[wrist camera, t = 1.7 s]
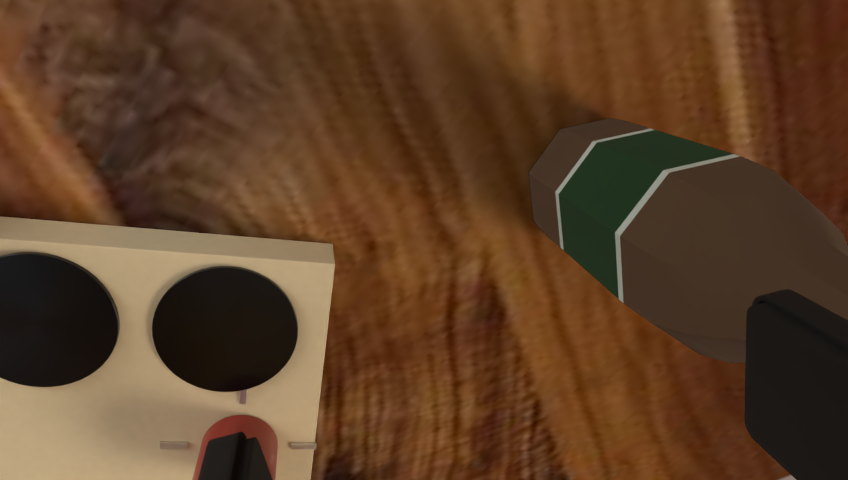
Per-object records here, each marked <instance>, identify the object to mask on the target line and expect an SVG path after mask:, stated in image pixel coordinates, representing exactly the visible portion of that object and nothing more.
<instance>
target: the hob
mask: <svg viewBox="0 0 848 480" xmlns="http://www.w3.org/2000/svg"><path fill="white" fill-rule="evenodd" d="M18 252H39V253H47V254H51V255H56V256H59V257H62V258H65V259H68V260H70V261H72V262H74V263H76V264H79V265H80V266H82V267H83V268H85V269H87V270H88V271H89V272H91V273H92V274H93V275H94V276H96V277H97V278H98V279H99V280H100V281H101V282H102V283H103V284H104V286H105V287H106V288H107V290H108V291H109V292H110V294H111V296H112V298H113V299H114V302H115V304H116V306H117V310H118V314H119V320H120V331H119V337H118V341H117V343H116V346H115V348H114V350H113V352H112V353H111V355H110V357H109V358H108V359H107V361H106V362H105V363H104V364H103V365H102V366H101V367H100V368H99V369H98V370H97V371H95V372H94V373H92V374H91V375H89V376H87V377H85V378H84V379H82V380H79V381H76V382H74V383H71V384H67V385H62V386H55V387H32V386H25V385H20V384H16V383H13V382H10V381H7V380H4V379H2V378H0V480H192V479H193V475H194V471H195V467H196V463H197V459H198V455H199V451H200V447H201V443H202V440H203V437H204V435H205V433H206V432H207V430H208V429H209V428H210V427H211V426H212V425H213V424H215V423H216V422H218V421H219V420H221V419H223V418H226V417H230V416H235V415H248V416H253V417H257V418H259V419H261V420H263V421H265V422H266V423H267V424H268V425H269V426H270V427H271V428H272V429H273V430H274V432H275V434H276V436H277V440H278V451H277V465H276V478H275V480H311V471H312V462H313V453H314V450H316V446H317V443H315V436H316V427H317V418H318V409H319V401H320V392H321V383H322V374H323V365H324V357H325V348H326V339H327V330H328V322H329V313H330V304H331V295H332V286H333V278H334V269H335V260H334V251H333V244H329V243H317V242H304V241H292V240H280V239H268V238H256V237H244V236H232V235H220V234H207V233H195V232H183V231H171V230H159V229H147V228H135V227H123V226H110V225H98V224H86V223H74V222H62V221H50V220H38V219H26V218H14V217H1V216H0V256H2V255H6V254H11V253H18ZM215 266H235V267H241V268H245V269H249V270H252V271H255V272H258V273H260V274H262V275H264V276H266V277H267V278H269V279H270V280H272V281H273V282H275V283H276V284H277V285H278V286H279V287H280V288H281V289H282V290H283V291H284V292H285V293H286V295H287V296H288V298H289V299H290V301H291V302H292V305H293V307H294V309H295V312H296V316H297V321H298V338H297V343H296V347H295V350H294V352H293V354H292V356H291V358H290V360H289V361H288V362H287V364H286V365H285V366H284V367H283V369H282V370H281V371H280V372H279V373H277V374H276V375H275V376H274V377H272V378H271V379H269V380H268V381H266V382H264V383H262V384H260V385H258V386H256V387H253V388H250V389H246V390H242V391H235V392H217V391H210V390H205V389H202V388H198V387H196V386H193V385H191V384H189V383H187V382H185V381H183V380H182V379H180V378H179V377H177V376H176V375H175V374H173V373H172V372H171V371H170V370H169V369H168V368H167V367H166V365H165V364H164V363H163V361H162V360H161V358H160V357H159V355H158V353H157V351H156V348H155V345H154V341H153V337H152V322H153V317H154V313H155V310H156V308H157V305H158V303H159V301H160V300H161V298H162V297H163V295H164V294H165V293H166V291H167V290H168V289H169V288H170V287H171V286H172V285H173V284H174V283H175V282H177V281H178V280H180V279H181V278H183V277H184V276H186V275H188V274H190V273H192V272H195V271H197V270H200V269H204V268H208V267H215Z"/></svg>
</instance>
